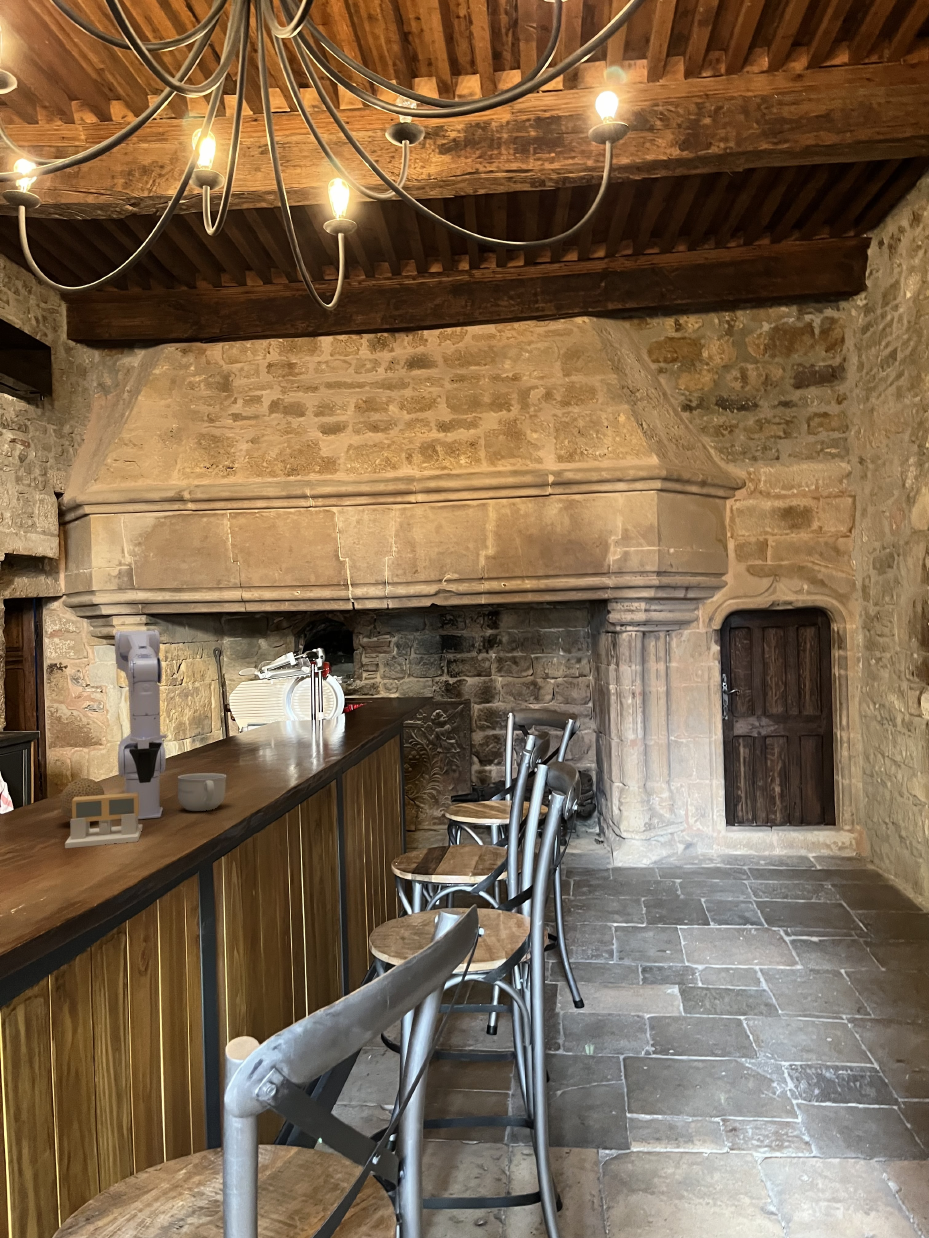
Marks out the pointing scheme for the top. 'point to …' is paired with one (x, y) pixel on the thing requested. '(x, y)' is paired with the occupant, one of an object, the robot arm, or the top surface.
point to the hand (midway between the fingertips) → (146, 779)
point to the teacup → (201, 791)
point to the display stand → (103, 832)
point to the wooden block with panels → (105, 806)
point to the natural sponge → (78, 793)
